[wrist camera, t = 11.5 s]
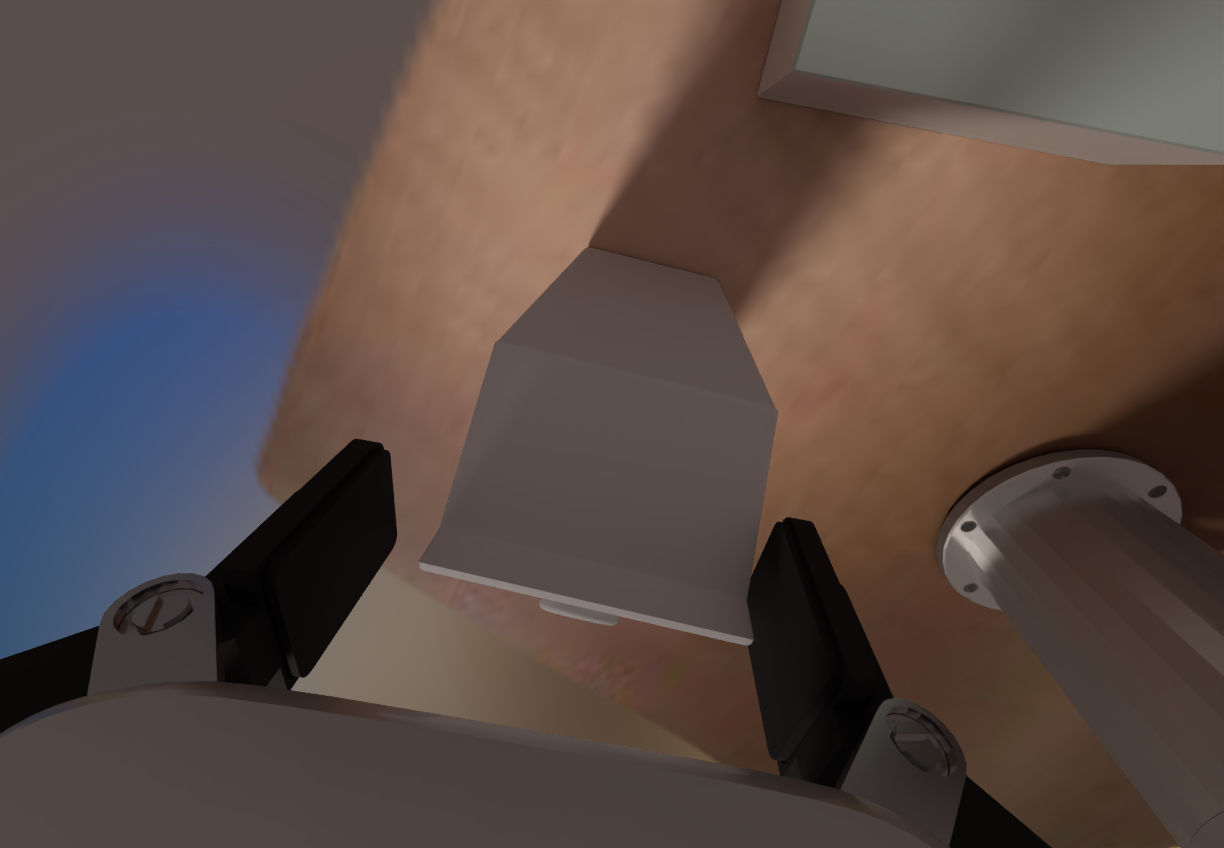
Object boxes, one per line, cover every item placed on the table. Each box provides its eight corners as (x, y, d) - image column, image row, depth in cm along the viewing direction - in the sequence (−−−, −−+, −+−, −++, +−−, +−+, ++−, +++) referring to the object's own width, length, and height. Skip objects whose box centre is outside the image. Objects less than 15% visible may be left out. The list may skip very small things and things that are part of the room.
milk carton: (586, 245, 24) (419, 417, 8) (718, 278, 25) (828, 515, 8) (563, 368, 28) (416, 667, 11) (680, 397, 28) (701, 733, 12)
